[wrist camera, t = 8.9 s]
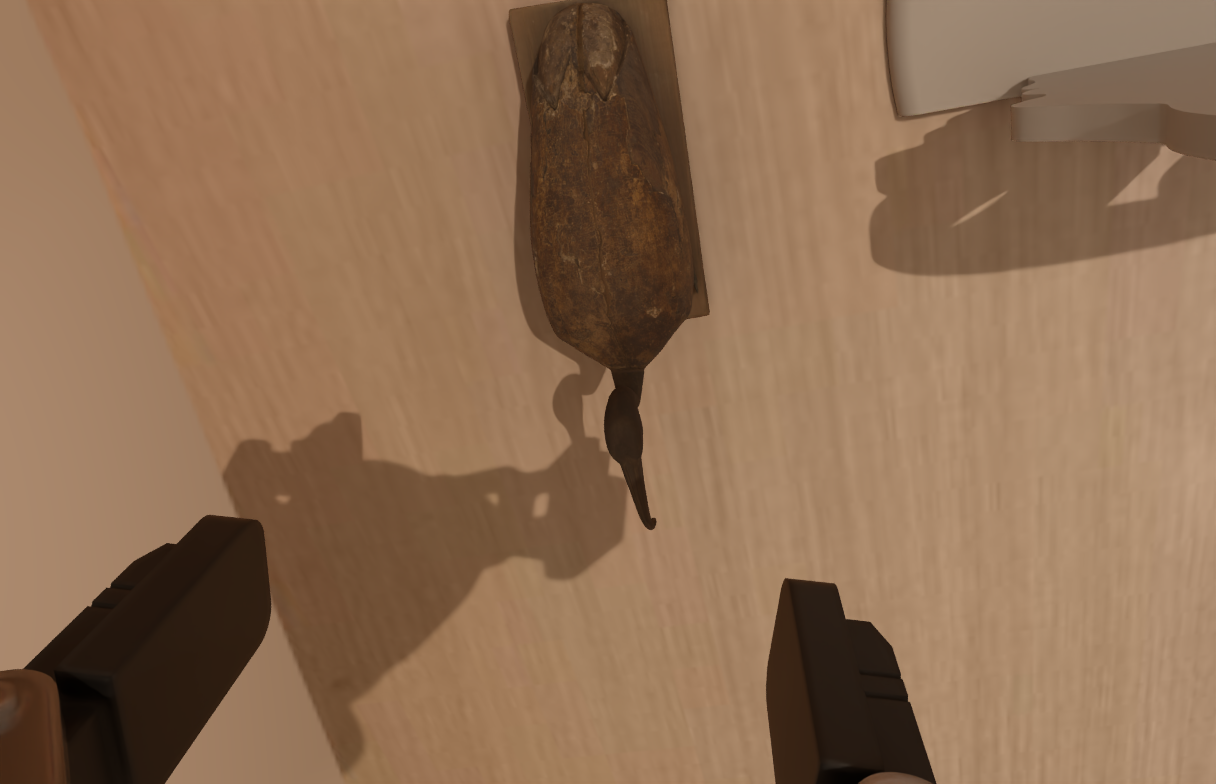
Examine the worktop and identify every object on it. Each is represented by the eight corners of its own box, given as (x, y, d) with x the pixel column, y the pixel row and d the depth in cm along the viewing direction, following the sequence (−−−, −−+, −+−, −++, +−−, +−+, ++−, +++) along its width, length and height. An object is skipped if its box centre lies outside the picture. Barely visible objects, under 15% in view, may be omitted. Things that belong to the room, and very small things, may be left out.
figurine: (726, 425, 30) (741, 572, 22) (597, 441, 30) (565, 590, 22) (664, -20, 25) (653, -42, 17) (510, 10, 25) (428, 4, 17)
